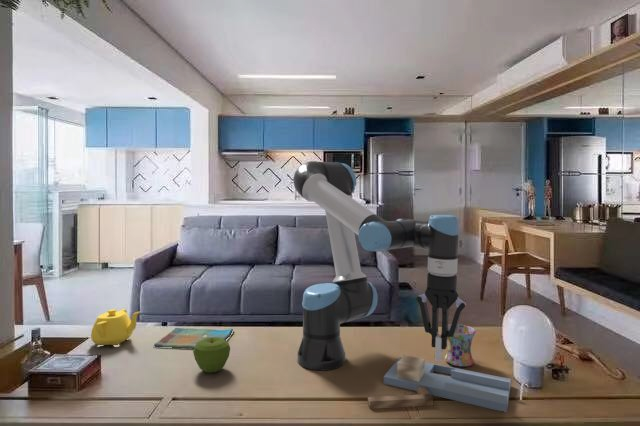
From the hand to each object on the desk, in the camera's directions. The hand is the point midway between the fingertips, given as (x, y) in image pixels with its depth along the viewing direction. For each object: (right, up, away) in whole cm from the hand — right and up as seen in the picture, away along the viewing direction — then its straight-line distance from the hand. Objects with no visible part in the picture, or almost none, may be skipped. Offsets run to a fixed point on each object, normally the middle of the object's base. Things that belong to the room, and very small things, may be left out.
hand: (438, 359), depth 109 cm
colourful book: (-77, -7, +36) cm, 85 cm away
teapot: (-103, -7, +33) cm, 109 cm away
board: (+3, -8, +2) cm, 8 cm away
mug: (+11, -7, +18) cm, 22 cm away
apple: (-64, -8, +11) cm, 65 cm away
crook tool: (-12, -8, -6) cm, 16 cm away
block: (-7, -6, +4) cm, 9 cm away
